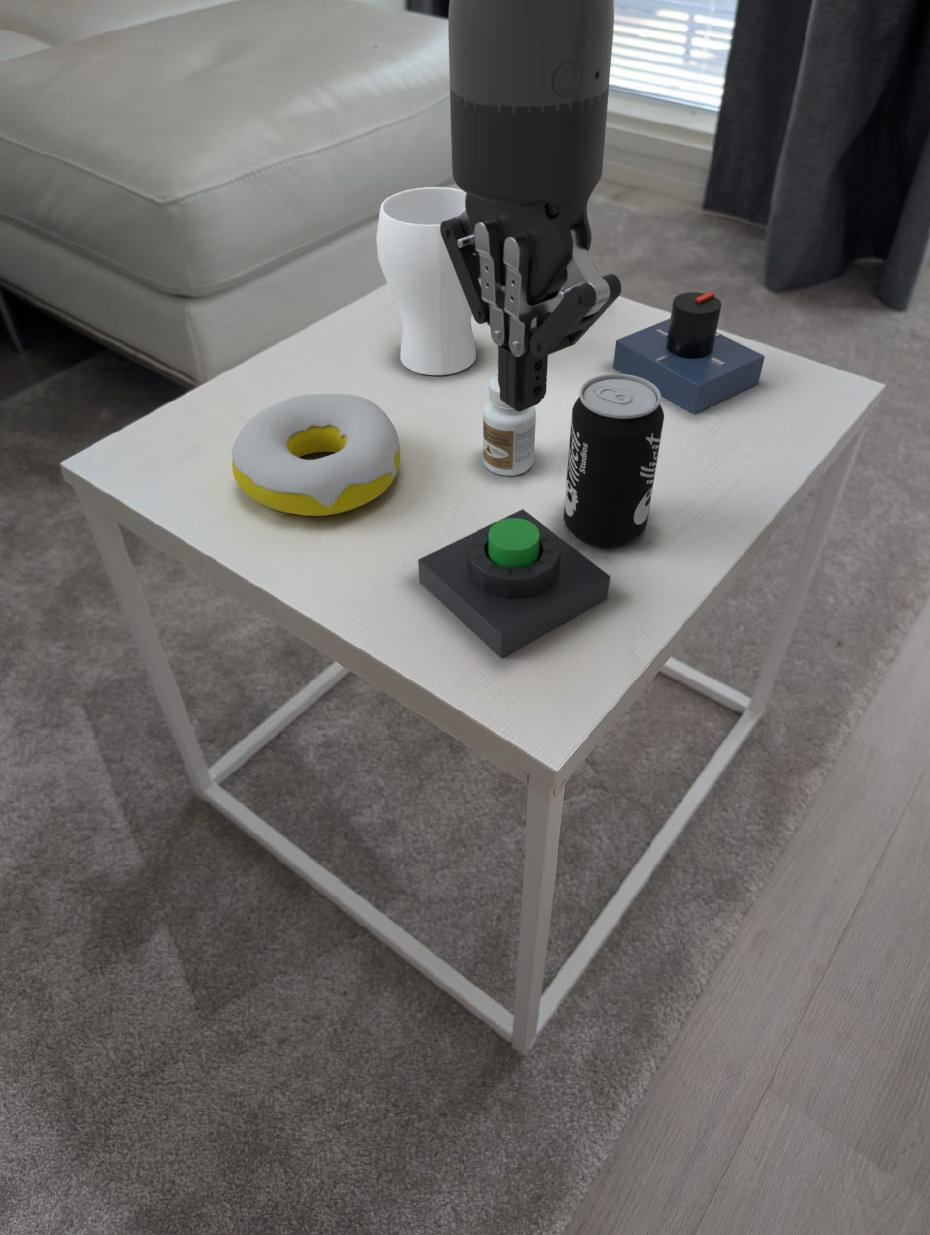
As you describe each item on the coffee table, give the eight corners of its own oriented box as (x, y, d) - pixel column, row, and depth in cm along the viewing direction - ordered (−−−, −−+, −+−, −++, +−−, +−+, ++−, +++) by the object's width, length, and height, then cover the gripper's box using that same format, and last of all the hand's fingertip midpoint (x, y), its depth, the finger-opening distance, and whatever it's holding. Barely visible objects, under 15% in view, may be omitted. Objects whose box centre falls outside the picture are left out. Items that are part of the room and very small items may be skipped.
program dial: (692, 363, 85) (701, 314, 82) (656, 346, 87) (663, 298, 84) (722, 348, 87) (732, 300, 84) (686, 331, 90) (694, 284, 86)
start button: (517, 530, 67) (518, 511, 66) (549, 555, 65) (550, 536, 63) (478, 549, 65) (478, 530, 64) (509, 576, 63) (510, 557, 62)
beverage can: (618, 564, 69) (638, 429, 61) (547, 532, 72) (555, 398, 64) (660, 521, 73) (683, 388, 65) (590, 492, 76) (604, 361, 68)
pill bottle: (472, 461, 79) (472, 381, 74) (510, 442, 81) (512, 364, 76) (506, 483, 77) (508, 403, 72) (544, 464, 79) (548, 384, 74)
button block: (522, 530, 72) (523, 489, 70) (608, 598, 67) (613, 557, 64) (418, 581, 68) (416, 540, 65) (501, 658, 62) (502, 617, 60)
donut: (327, 416, 85) (320, 367, 81) (436, 470, 78) (434, 420, 75) (207, 484, 77) (194, 434, 74) (317, 551, 71) (308, 499, 67)
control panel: (612, 367, 91) (615, 338, 89) (675, 341, 94) (680, 312, 92) (694, 414, 84) (699, 384, 82) (758, 383, 88) (765, 354, 86)
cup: (496, 335, 96) (497, 186, 85) (482, 387, 88) (482, 231, 78) (397, 329, 97) (387, 182, 87) (376, 380, 90) (362, 225, 79)
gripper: (689, 91, 40) (644, 428, 52) (504, 39, 48) (502, 343, 60) (561, 124, 37) (544, 475, 49) (385, 63, 45) (408, 379, 57)
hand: (521, 402), depth 55 cm, fingers closed
